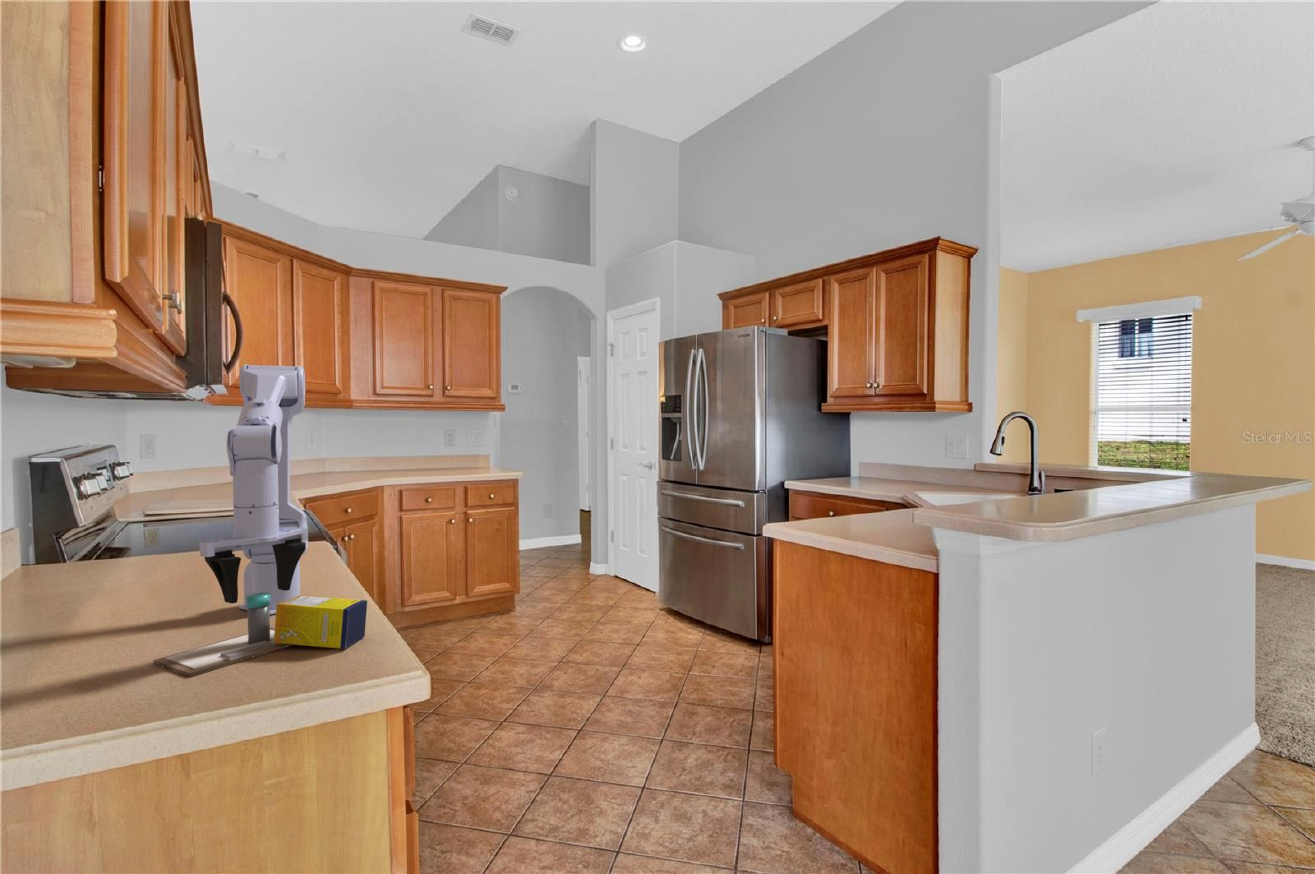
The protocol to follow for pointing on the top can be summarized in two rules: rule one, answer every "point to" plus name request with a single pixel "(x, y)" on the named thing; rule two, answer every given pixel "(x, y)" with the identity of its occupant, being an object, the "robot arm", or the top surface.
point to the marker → (258, 617)
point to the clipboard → (217, 655)
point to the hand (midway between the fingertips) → (258, 595)
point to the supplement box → (320, 621)
